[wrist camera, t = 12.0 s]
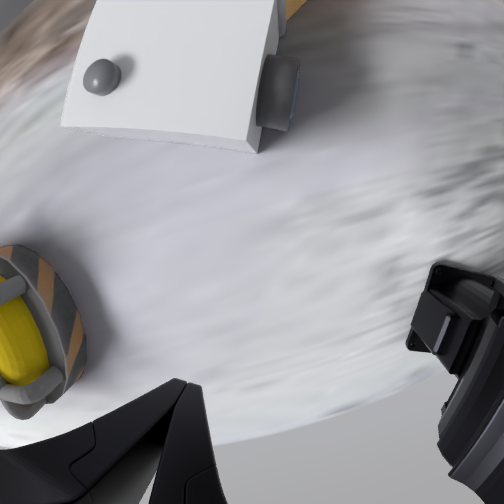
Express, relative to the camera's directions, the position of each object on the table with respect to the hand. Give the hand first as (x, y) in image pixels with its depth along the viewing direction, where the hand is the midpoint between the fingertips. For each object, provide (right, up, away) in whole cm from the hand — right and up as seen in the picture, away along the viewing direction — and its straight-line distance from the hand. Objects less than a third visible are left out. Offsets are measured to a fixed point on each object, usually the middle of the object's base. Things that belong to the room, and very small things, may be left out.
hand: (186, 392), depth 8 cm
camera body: (-2, +15, +9) cm, 18 cm away
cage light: (-27, -4, +16) cm, 31 cm away
